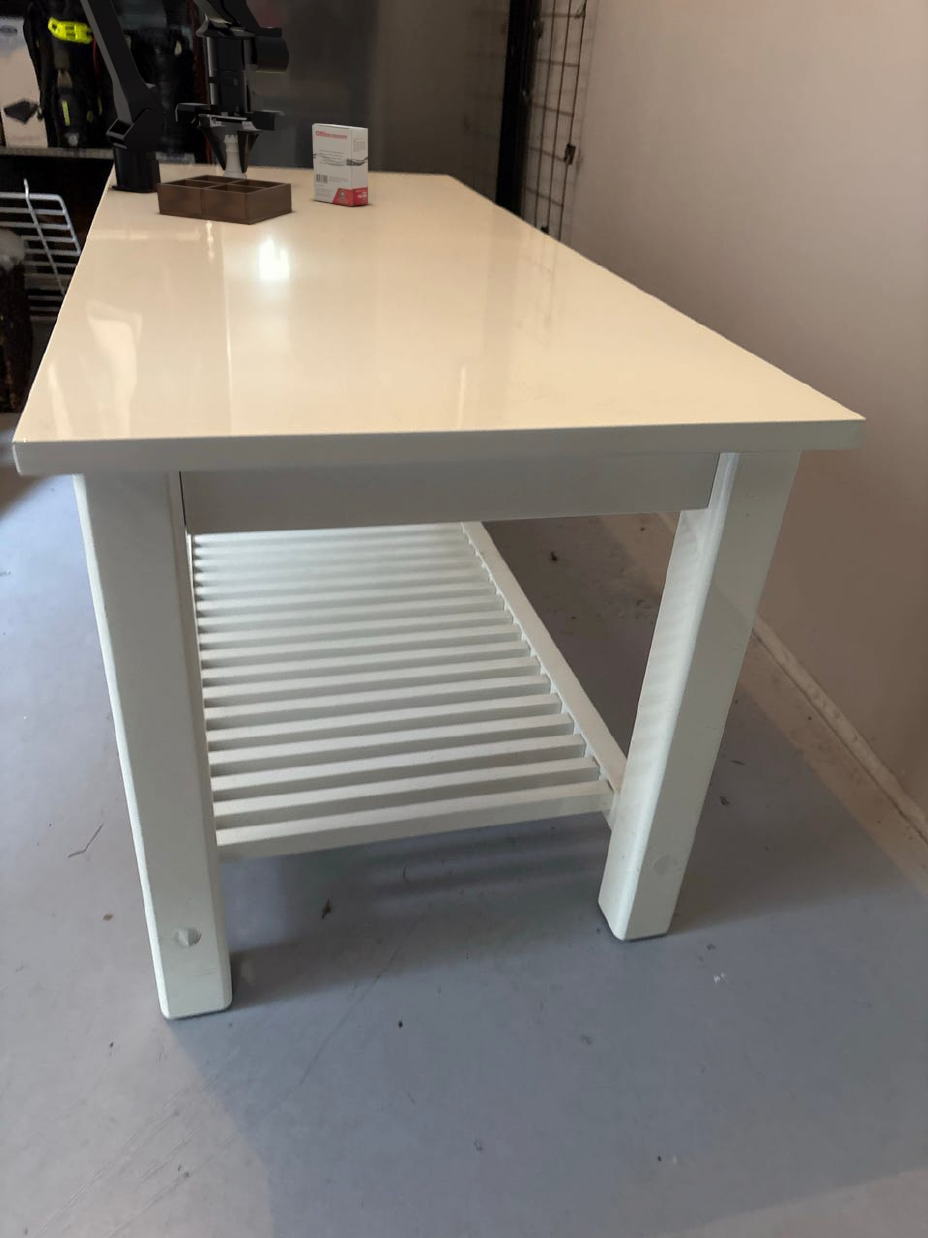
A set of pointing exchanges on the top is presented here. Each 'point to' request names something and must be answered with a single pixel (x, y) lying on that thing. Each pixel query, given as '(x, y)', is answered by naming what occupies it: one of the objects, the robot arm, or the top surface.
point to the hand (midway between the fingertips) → (234, 171)
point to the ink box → (340, 164)
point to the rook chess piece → (233, 158)
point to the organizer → (224, 198)
